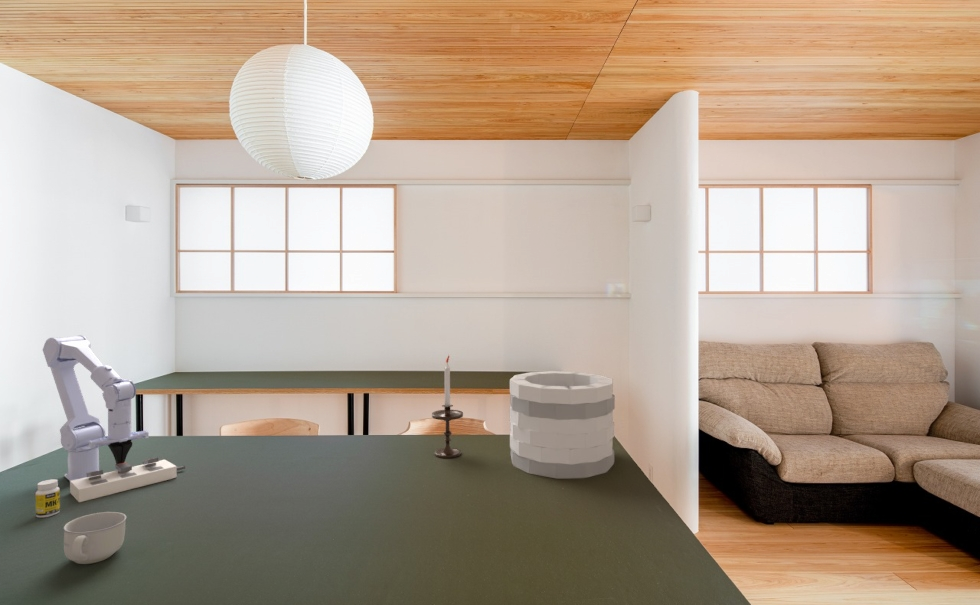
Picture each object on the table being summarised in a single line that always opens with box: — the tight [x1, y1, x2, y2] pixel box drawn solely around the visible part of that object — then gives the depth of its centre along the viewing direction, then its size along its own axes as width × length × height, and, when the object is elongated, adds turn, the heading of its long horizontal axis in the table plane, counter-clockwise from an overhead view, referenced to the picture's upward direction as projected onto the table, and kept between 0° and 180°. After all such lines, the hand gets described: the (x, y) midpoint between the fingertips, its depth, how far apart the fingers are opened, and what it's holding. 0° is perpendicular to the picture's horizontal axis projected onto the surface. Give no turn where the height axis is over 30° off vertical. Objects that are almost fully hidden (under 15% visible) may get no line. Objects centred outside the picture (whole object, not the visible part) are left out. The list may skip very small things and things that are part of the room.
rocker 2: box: [115, 461, 133, 473], centre depth 153 cm, size 5×3×1 cm, turn 50°
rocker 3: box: [142, 457, 160, 465], centre depth 159 cm, size 5×3×1 cm, turn 50°
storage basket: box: [509, 370, 616, 479], centre depth 173 cm, size 35×35×27 cm
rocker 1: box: [86, 469, 104, 477], centre depth 148 cm, size 5×3×1 cm, turn 50°
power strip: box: [69, 459, 186, 503], centre depth 154 cm, size 10×28×4 cm, turn 140°
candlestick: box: [431, 355, 464, 459], centre depth 180 cm, size 11×11×35 cm
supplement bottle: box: [35, 478, 61, 519], centre depth 133 cm, size 5×5×8 cm
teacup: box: [63, 511, 127, 565], centre depth 110 cm, size 14×11×8 cm
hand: (119, 466), depth 156 cm, fingers closed, pressing on rocker 2
